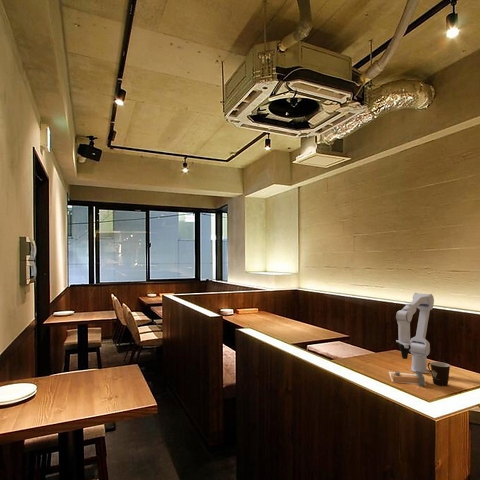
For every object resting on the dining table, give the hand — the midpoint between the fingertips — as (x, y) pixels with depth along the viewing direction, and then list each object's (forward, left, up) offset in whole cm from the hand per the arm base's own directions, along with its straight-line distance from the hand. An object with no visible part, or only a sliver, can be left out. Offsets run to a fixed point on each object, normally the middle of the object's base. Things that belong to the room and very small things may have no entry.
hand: (404, 358), depth 183 cm
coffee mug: (+4, +15, -10) cm, 19 cm away
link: (+6, 0, -10) cm, 11 cm away
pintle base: (+2, +1, -10) cm, 10 cm away
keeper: (+7, +6, -10) cm, 13 cm away
